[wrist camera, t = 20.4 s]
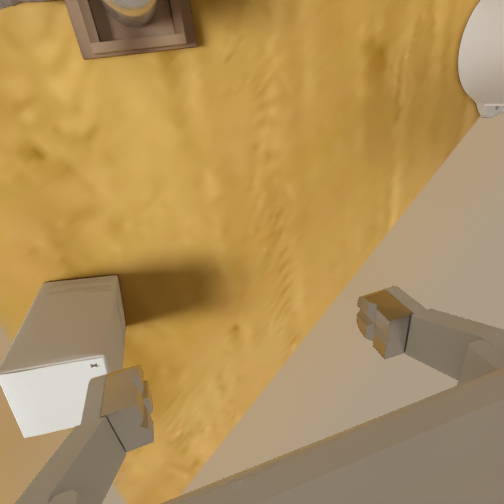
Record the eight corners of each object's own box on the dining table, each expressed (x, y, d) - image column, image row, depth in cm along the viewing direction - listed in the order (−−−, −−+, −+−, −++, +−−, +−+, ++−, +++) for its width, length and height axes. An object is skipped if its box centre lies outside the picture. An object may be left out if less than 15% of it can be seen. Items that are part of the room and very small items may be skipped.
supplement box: (40, 280, 39) (-10, 373, 26) (118, 273, 42) (107, 354, 29) (57, 337, 43) (20, 441, 30) (127, 327, 46) (120, 419, 33)
